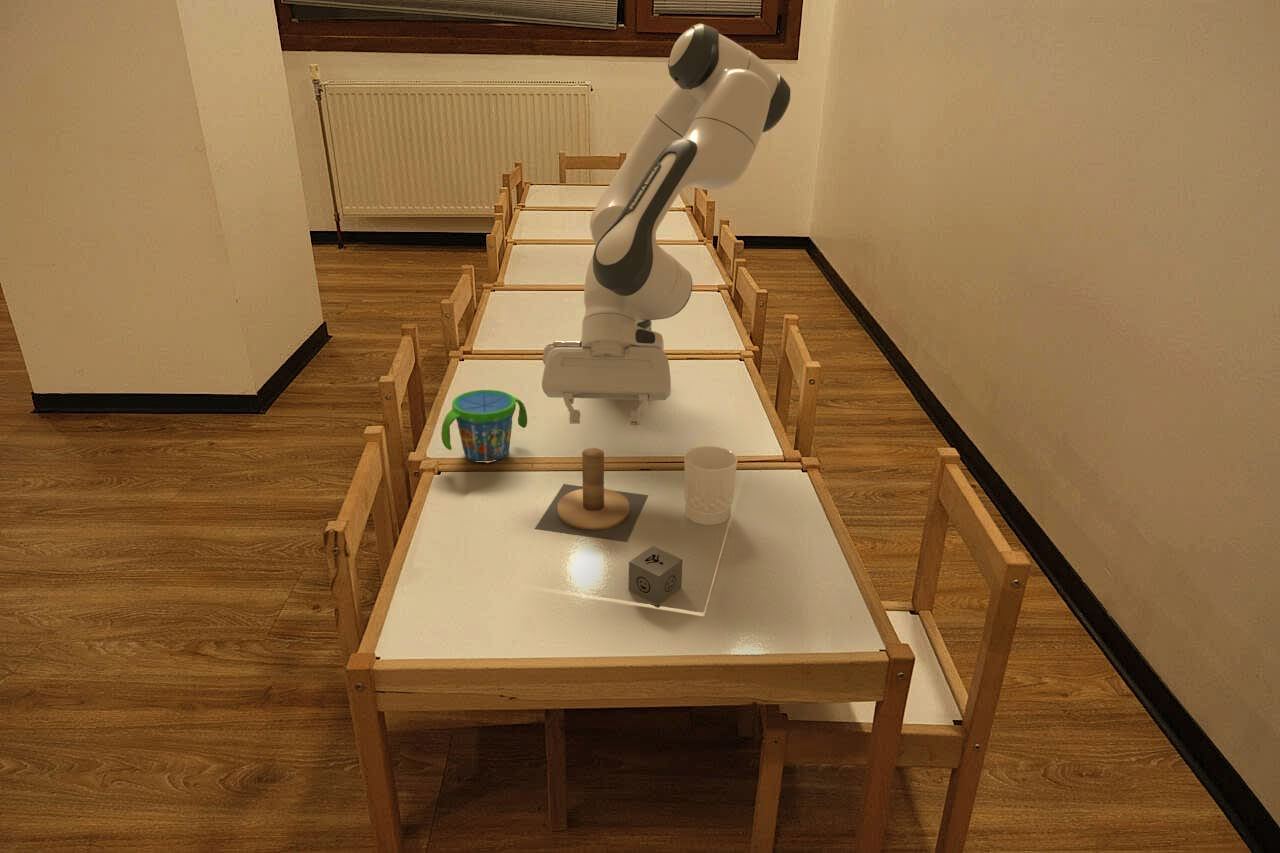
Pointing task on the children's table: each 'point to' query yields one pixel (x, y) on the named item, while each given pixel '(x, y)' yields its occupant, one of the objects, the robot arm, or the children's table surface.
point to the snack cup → (483, 423)
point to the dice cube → (655, 575)
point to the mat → (617, 533)
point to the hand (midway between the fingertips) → (604, 423)
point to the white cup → (709, 484)
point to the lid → (593, 498)
